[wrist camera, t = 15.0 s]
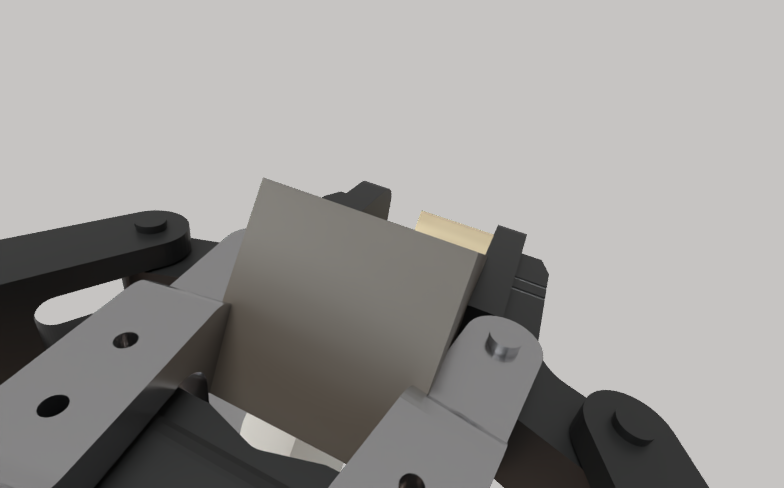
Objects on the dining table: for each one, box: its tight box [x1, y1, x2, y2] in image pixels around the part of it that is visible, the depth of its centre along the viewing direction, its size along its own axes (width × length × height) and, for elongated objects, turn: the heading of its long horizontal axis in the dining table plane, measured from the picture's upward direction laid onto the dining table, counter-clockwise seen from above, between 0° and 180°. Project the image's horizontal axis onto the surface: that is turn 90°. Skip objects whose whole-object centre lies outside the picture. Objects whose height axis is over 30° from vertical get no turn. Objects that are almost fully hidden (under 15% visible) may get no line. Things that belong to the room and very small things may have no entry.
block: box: [210, 178, 494, 464], centre depth 15 cm, size 19×5×4 cm, turn 165°
